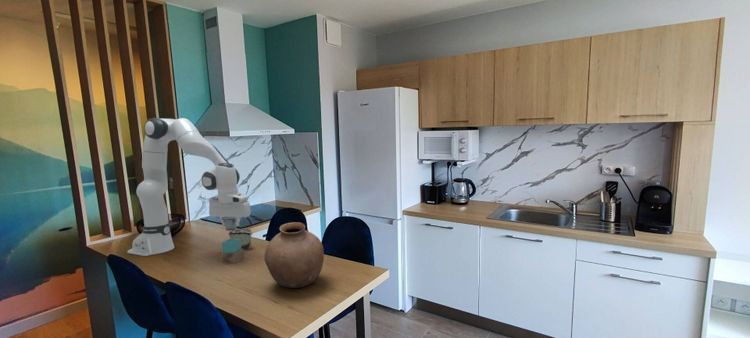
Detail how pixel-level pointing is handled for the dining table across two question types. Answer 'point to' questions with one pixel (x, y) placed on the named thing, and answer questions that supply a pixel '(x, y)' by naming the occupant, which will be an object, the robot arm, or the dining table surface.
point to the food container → (242, 237)
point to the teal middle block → (231, 245)
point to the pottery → (294, 256)
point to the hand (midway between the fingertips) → (230, 225)
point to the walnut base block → (232, 257)
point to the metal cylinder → (230, 224)
